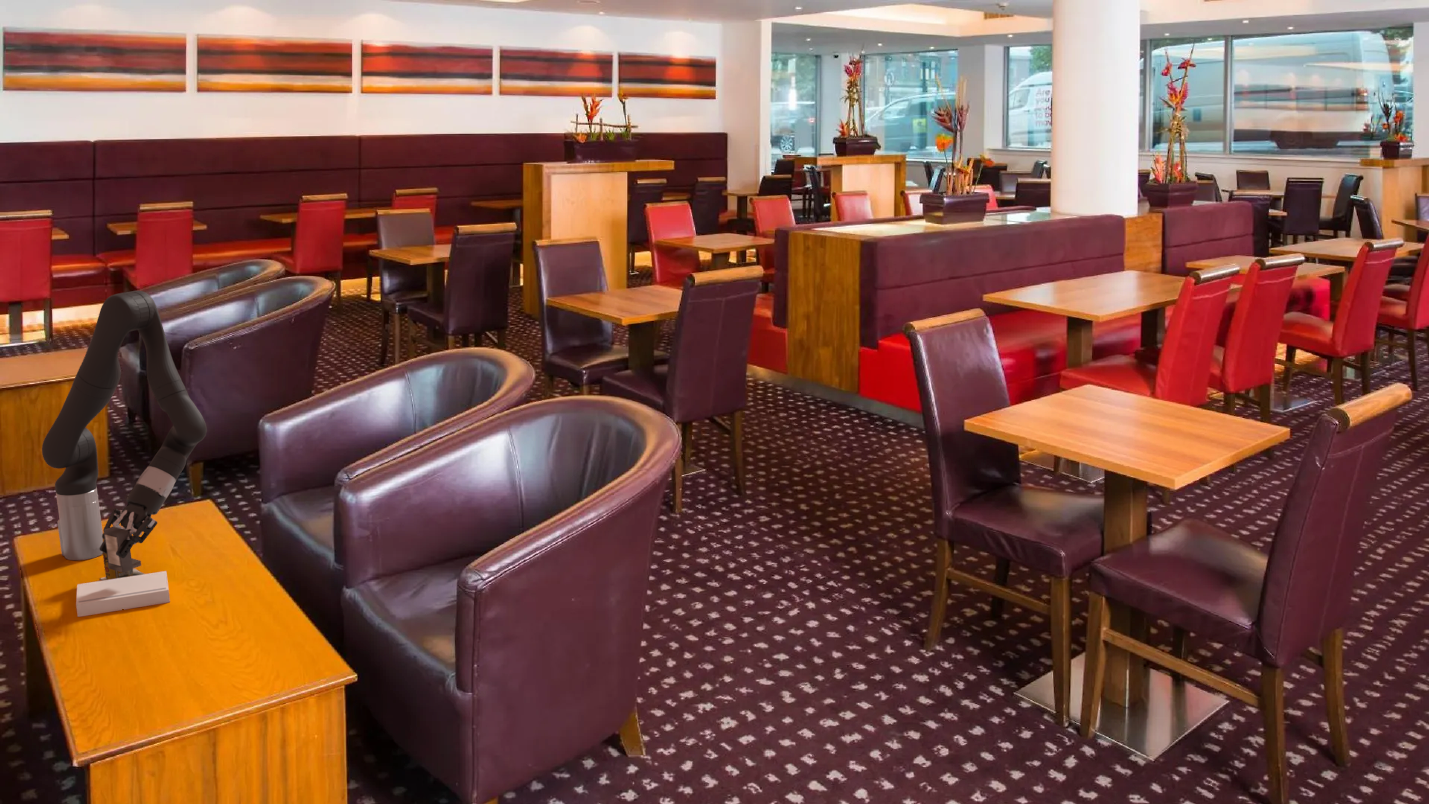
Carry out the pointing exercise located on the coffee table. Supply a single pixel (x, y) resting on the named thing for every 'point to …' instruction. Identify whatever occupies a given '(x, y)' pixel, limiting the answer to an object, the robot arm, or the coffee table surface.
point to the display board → (122, 593)
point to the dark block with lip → (113, 542)
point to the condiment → (116, 574)
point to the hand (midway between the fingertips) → (111, 554)
